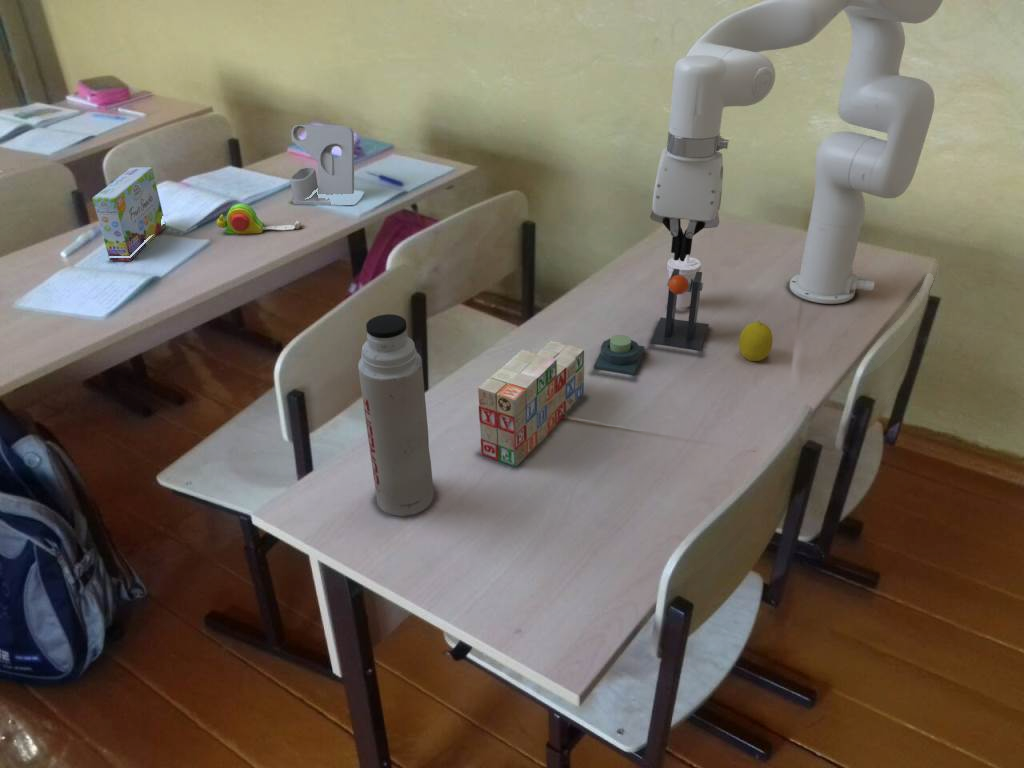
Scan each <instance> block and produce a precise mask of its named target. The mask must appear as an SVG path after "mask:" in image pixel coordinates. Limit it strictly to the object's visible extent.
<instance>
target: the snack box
mask: <svg viewBox="0 0 1024 768" xmlns="http://www.w3.org/2000/svg"><path fill="white" fill-rule="evenodd" d="M91 199H92V202H93V205H94V209H95V213H96V217H97V220H98V223H99V224H98V225H99V227H100V230H101V234H102V238H103V241H104V245H105V248H106V252H107V255H108V259H109V261H110V262H111V261H113V262H115V261H116V262H132V261H133V260H134V258H136V257H137V255H139V253H140V252H142V250H144V249H145V248H146V247H147V246H148V245H149V244H150V243H151V242H152V241H153V240H154V239H155V238H156V237H157V236H158V234H160V233H161V232H162V231H163V230H164V229H165V228H166V227H167V224H166V223H165V224H163V225H162V226H161V219H162V216H164V211H163V208H162V204H161V200H160V195H159V191H158V187H157V182H156V179H155V174H154V169H153V167H152V166H151V167H150V166H149V167H143V166H141V167H139V166H137V167H130V168H128V169H127V170H126V171H125V172H124V173H122V174H121V175H120V176H118V177H117V178H116V179H114V180H113V181H112V182H111V183H109V184H108V185H107V186H106V187H104V188H103V189H102V190H101V191H99V192H98V193H97V194H95V195H94V196H93V197H92V198H91ZM153 234H154V235H153ZM151 235H153V236H152V237H151V238H150V239H149V240H148V241H147V242H146V243H145V244H144V245H143V246H142V247H141V248H140V249H139V250H138V251H137V252H136V253H135V254H134V255H133V256H132V257H131V258H109V256H130V255H131V254H132V253H133V252H134V251H135V250H136V249H137V248H138V247H139V246H140V245H141V244H142V243H143V242H144V240H146V239H147V238H148V237H149V236H151Z"/></svg>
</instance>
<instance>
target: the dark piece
mask: <svg viewBox="0 0 1024 768" xmlns="http://www.w3.org/2000/svg"><path fill="white" fill-rule="evenodd" d="M611 338H612V337H611ZM611 338H608V339H605V340H604V341H603V342H602V344H601V346H600V353H599V355H598V356H597V358H596V360H595V362H594V365H593V370H598V371H605V372H609V373H616V374H623V375H628V376H635V374H636V372H637V369H638V367H639V365H640V363H641V359H642V357H643V354H644V353H645V349H646V346H644V345H639V344H638V342H637V341H635V340H633V339H631V350H630V351H629V352H627V353H616V352H613V351H611V350H610V339H611Z"/></svg>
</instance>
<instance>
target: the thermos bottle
mask: <svg viewBox="0 0 1024 768" xmlns="http://www.w3.org/2000/svg"><path fill="white" fill-rule="evenodd" d="M365 329H366V333H367V334H366V339H367V340H366V341H365V342H364V343H363V344H362V347H361V354H360V357H361V358H360V359H359V361H358V365H357V367H358V375H359V382H360V389H361V396H362V403H363V412H364V417H365V426H366V434H367V441H368V445H369V453H370V454H369V455H370V461H371V468H372V476H373V482H374V489H375V496H376V503H377V505H378V507H379V508H380V509H381V510H382V511H383V512H385V513H387V514H389V515H391V516H397V517H406V516H407V517H408V516H413V515H416V514H419V513H421V512H422V511H425V509H427V508H428V507H429V506H430V505H431V503H433V500H434V496H435V492H434V480H433V471H432V460H431V453H430V445H429V443H430V440H429V425H428V414H427V404H426V392H425V381H424V370H423V369H424V368H423V361H422V357H421V355H420V354H419V353H418V352H417V351H418V350H417V348H416V346H415V342H414V340H413V339H412V338H410V337H409V336H408V333H407V321H406V319H405V318H404V317H403V316H401V315H397V314H390V313H385V314H380V315H377V316H373V317H372V318H370V319H369V320H368V321H367V322H366V325H365Z"/></svg>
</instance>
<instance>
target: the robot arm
mask: <svg viewBox="0 0 1024 768" xmlns="http://www.w3.org/2000/svg"><path fill="white" fill-rule="evenodd" d="M943 1H944V0H763V1H760V2H757V3H755V4H753V5H750V6H748V7H746V8H744V9H741V10H739V11H736V12H734V13H732V14H730V15H728V16H726V17H725V18H723V19H721V20H720V21H718V22H717V23H715V24H714V25H713V26H711V28H710V29H708V30H707V31H706V32H705V33H704V34H703V35H702V36H701V37H699V39H698V40H696V41H695V43H694V44H693V45H692V46H691V48H690V49H689V50H688V52H687V53H686V55H685V56H683V57H681V58H680V59H678V60H677V61H676V63H675V65H674V70H673V77H672V89H671V100H670V109H669V121H668V132H667V143H666V144H667V145H666V148H663V150H662V152H661V155H660V158H659V159H660V160H659V163H658V166H657V170H656V171H657V172H656V177H655V181H654V182H655V184H654V189H653V196H652V206H651V207H652V211H651V213H650V216H649V219H650V220H651V221H654V222H656V223H659V224H663V226H664V227H665V228H666V229H667V230H668V231H669V232H670V236H671V237H672V238H671V247H670V253H671V254H674V255H673V257H674V260H679V258H680V260H681V261H684V260H685V258H686V256H687V255H690V256H691V252H692V247H693V246H692V245H693V237H694V236H695V235H697V234H698V233H699V232H701V231H702V230H703V229H712V228H713V229H714V228H717V227H718V226H719V224H720V216H719V211H720V208H721V204H722V203H721V202H722V194H723V181H724V158H723V153H722V152H720V150H723V149H724V150H728V149H729V143H730V139H725V138H724V137H723V136H722V135H721V127H722V119H723V118H722V117H723V110H724V109H725V108H726V107H750V106H753V105H756V104H758V103H760V102H761V101H763V100H764V99H765V98H767V96H768V95H769V94H770V93H771V91H772V89H773V87H774V84H775V81H776V70H775V69H776V68H775V66H774V64H773V62H772V61H771V59H769V57H767V56H766V55H764V54H762V53H761V52H766V51H776V50H782V49H788V48H793V47H797V46H801V45H802V46H803V45H805V44H807V43H809V42H811V41H812V40H814V38H816V37H817V36H818V35H819V34H820V33H821V32H822V31H823V30H824V29H825V28H826V27H827V26H828V25H829V24H830V23H831V22H832V21H833V20H834V19H835V18H836V17H837V16H839V14H841V13H842V12H843V11H844V13H845V14H846V17H847V19H848V22H849V25H850V28H851V35H852V37H851V48H850V53H849V57H848V62H847V65H846V69H845V74H844V77H843V81H842V86H841V89H840V94H839V98H838V105H837V114H838V116H839V118H840V120H842V121H843V122H845V123H847V124H849V125H853V126H855V127H856V126H857V127H859V128H864V129H867V130H871V131H876V132H879V133H885V134H887V138H886V139H887V140H886V139H883V138H877V137H876V136H871V135H866V134H863V133H858V132H855V131H847V130H846V131H844V130H843V131H842V130H841V131H836V132H832V133H831V134H828V135H827V136H826V137H825V138H823V140H822V141H821V142H820V144H819V145H818V147H817V150H816V154H815V161H814V166H815V167H814V171H815V172H814V173H815V174H814V175H815V179H814V181H815V183H814V195H813V199H812V200H813V201H812V207H811V212H810V217H809V222H808V226H807V227H808V228H807V233H806V237H805V244H804V248H803V252H802V253H803V254H802V260H801V263H800V270H799V274H796V275H794V276H792V277H791V278H790V281H789V285H788V287H789V290H790V292H792V294H794V295H795V296H797V297H799V298H800V299H803V300H805V301H808V302H812V303H818V304H823V305H824V304H825V305H835V304H836V305H837V304H843V303H846V302H849V301H851V300H852V299H853V298H854V297H855V295H856V290H857V289H858V290H862V291H869V292H873V291H874V288H875V281H873V280H868V276H865V275H856V274H855V273H854V267H853V266H854V261H855V258H856V252H857V247H858V245H859V244H858V243H859V239H860V235H861V230H862V227H863V222H864V218H865V212H866V202H865V199H864V194H868V195H871V196H875V197H878V198H882V199H896V198H898V197H900V196H902V195H903V194H904V193H905V192H906V191H907V190H908V188H909V187H910V185H911V183H912V181H913V179H914V176H915V173H916V170H917V168H918V164H919V161H920V158H921V155H922V152H923V151H922V150H923V148H924V145H925V141H926V138H927V135H928V131H929V128H930V125H931V121H932V118H933V114H934V110H935V102H936V101H935V92H934V89H933V87H932V86H931V85H930V84H929V83H928V82H927V81H925V80H923V79H920V78H916V77H912V76H905V75H901V74H900V67H901V62H902V58H903V55H904V51H905V46H906V36H905V30H904V26H903V23H905V24H921V23H924V22H926V21H928V20H929V19H931V18H932V17H933V16H934V15H935V14H936V13H937V11H938V10H939V8H940V7H941V5H942V3H943ZM863 193H864V194H863ZM681 220H686V221H687V220H688V224H687V227H686V229H685V230H683V228H682V222H681Z"/></svg>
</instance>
